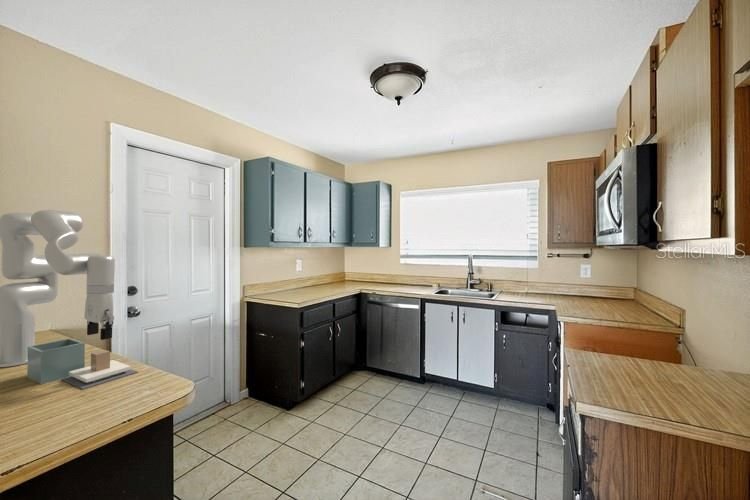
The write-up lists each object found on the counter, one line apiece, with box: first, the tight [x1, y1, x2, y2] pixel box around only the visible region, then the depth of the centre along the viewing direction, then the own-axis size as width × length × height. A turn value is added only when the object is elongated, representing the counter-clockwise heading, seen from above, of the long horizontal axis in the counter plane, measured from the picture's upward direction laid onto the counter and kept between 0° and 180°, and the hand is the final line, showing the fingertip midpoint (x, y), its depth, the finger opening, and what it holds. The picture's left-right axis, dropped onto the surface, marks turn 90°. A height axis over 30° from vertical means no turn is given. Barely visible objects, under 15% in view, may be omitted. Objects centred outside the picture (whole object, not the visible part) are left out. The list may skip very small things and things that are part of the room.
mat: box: [61, 368, 139, 391], centre depth 114 cm, size 16×16×1 cm
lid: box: [69, 349, 132, 383], centre depth 114 cm, size 13×13×8 cm
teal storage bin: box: [27, 337, 86, 385], centre depth 115 cm, size 12×12×11 cm
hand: (99, 336), depth 114 cm, fingers open, 9 cm apart
